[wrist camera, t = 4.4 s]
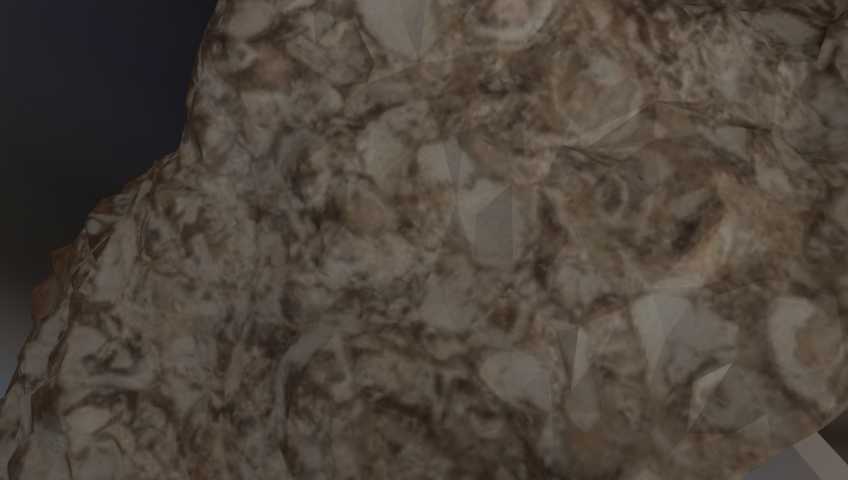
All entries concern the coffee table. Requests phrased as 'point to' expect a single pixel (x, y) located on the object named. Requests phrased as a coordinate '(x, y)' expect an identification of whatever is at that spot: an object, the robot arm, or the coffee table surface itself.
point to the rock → (462, 252)
